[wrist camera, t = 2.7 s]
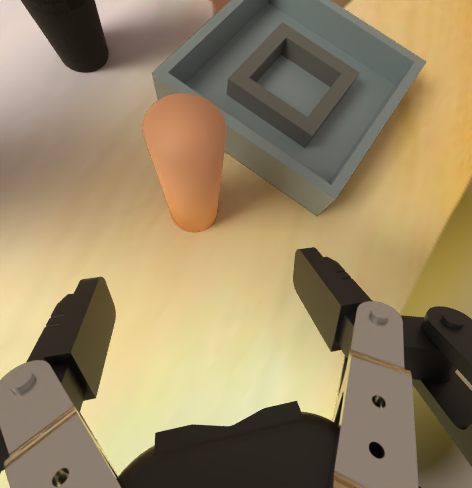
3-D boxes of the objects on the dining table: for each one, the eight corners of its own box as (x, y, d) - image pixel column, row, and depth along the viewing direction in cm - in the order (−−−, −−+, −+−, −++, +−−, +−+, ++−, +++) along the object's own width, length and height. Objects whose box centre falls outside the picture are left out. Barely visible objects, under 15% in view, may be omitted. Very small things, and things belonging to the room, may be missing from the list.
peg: (161, 213, 26) (124, 132, 14) (190, 180, 27) (178, 79, 15) (198, 241, 25) (192, 180, 14) (226, 206, 26) (242, 123, 15)
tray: (159, 105, 28) (151, 73, 25) (264, 2, 34) (271, -38, 30) (316, 215, 27) (335, 199, 23) (400, 91, 32) (426, 61, 29)
